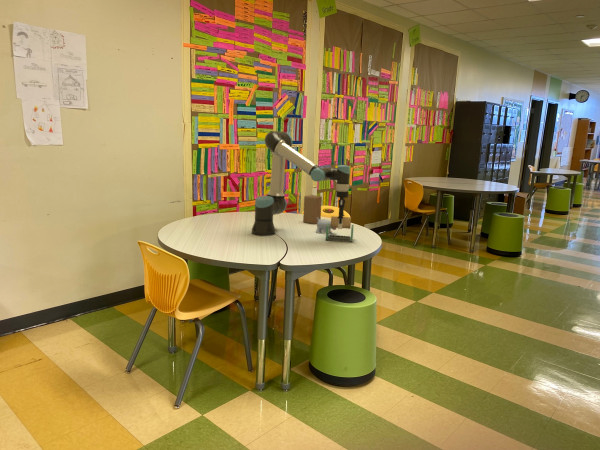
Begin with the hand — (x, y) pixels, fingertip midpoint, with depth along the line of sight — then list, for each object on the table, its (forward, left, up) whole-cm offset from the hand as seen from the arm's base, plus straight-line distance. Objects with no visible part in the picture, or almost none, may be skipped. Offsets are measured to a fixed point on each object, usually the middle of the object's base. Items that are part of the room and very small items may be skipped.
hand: (340, 227), depth 266 cm
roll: (0, 0, 0) cm, 0 cm away
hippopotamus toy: (-10, +18, -8) cm, 23 cm away
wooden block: (-23, +51, -8) cm, 56 cm away
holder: (0, 0, -8) cm, 8 cm away
